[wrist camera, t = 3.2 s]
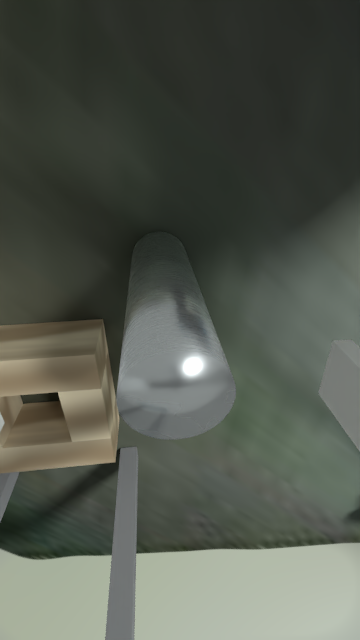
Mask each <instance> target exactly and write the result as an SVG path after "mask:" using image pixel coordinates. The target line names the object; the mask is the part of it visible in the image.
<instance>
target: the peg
mask: <svg viewBox="0 0 360 640" xmlns="http://www.w3.org/2000/svg"><path fill="white" fill-rule="evenodd" d="M235 396H236V387H235V382H234V379H233V376H232V374H231V371H230V368H229V366H228V363H227V360H226V358H225V355H224V352H223V350H222V347H221V344H220V342H219V339H218V336H217V334H216V331H215V328H214V326H213V323H212V320H211V318H210V315H209V312H208V310H207V307H206V304H205V302H204V299H203V296H202V294H201V291H200V288H199V286H198V283H197V280H196V277H195V275H194V272H193V269H192V267H191V264H190V261H189V259H188V256H187V253H186V251H185V248H184V246H183V244H182V243H181V241H180V240H179V239H178V238H176V237H175V236H174V235H172V234H170V233H167V232H152V233H149V234H147V235H145V236H143V237H142V238H141V239H140V240H139V241H138V242H137V243H136V245H135V247H134V249H133V253H132V261H131V270H130V279H129V288H128V297H127V306H126V315H125V324H124V333H123V342H122V351H121V360H120V369H119V378H118V387H117V396H116V403H117V408H118V411H119V413H120V415H121V417H122V418H123V420H124V421H125V422H126V423H127V424H128V425H129V426H130V427H131V428H133V429H134V430H136V431H137V432H139V433H141V434H144V435H146V436H149V437H153V438H158V439H169V440H173V439H183V438H189V437H193V436H196V435H199V434H201V433H204V432H206V431H208V430H209V429H211V428H213V427H214V426H216V425H217V424H218V423H220V422H221V421H222V420H223V419H224V418H225V417H226V415H227V414H228V413H229V411H230V410H231V408H232V406H233V403H234V401H235Z"/></svg>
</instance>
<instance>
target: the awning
mask: <svg viewBox="0 0 360 640" xmlns="http://www.w3.org/2000/svg"><path fill="white" fill-rule="evenodd" d="M18 475H19V472H10V473H0V522H1V519H2V517H3V514H4V512H5V509H6V506H7V504H8V501H9V498H10V496H11V493H12V490H13V488H14V485H15V483H16V480H17V477H18ZM137 485H138V452H137V447H127V448H120V461H119V473H118V486H117V498H116V511H115V524H114V536H113V549H112V561H111V574H110V587H109V600H108V612H107V625H106V637H105V640H134V622H135V579H136V532H137Z"/></svg>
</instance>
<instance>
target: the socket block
mask: <svg viewBox="0 0 360 640" xmlns="http://www.w3.org/2000/svg"><path fill="white" fill-rule="evenodd" d="M54 392H58V395H59V399H60V401H51V402H38V403H26V404H23V401H22V399H21V396H20V395H29V394H41V393H54ZM0 413H1V415H2V417H3V420H4V422H5V423H4V425H3V427H2V430H1V432H0V473H10V472H20V471H31V470H41V469H51V468H61V467H72V466H82V465H92V464H102V463H112V462H115V461H116V450H117V439H118V428H119V414H118V408H117V403H116V395H115V389H114V383H113V377H112V371H111V365H110V359H109V353H108V347H107V341H106V335H105V328H104V322H103V319H96V320H80V321H63V322H47V323H31V324H15V325H0Z"/></svg>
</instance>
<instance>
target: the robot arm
mask: <svg viewBox="0 0 360 640" xmlns="http://www.w3.org/2000/svg"><path fill="white" fill-rule="evenodd" d="M318 394H319V395H320V397H321V398H322V399H323V401H324V402H325V404H326V405H327V406H328V408H329V409H330V411H331V412H332V413H333V415H334V416H335V418H336V419H337V420H338V422H339V423H340V425H341V426H342V427H343V429H344V430H345V431H346V433H347V434H348V436H349V437H350V438H351V440H352V441H353V443H354V444H355V445H356V447H357V448H358V450H359V451H360V347H359V346H358V345H357V344H356V343H355V342H354V341H353V340H351V339H349V340H336V341H333V342H332V346H331V349H330V353H329V356H328V360H327V364H326V367H325V371H324V375H323V378H322V382H321V385H320V389H319V393H318ZM4 423H5V422H4V420H3V417H2V415H1V413H0V432H1V430H2V427H3V425H4Z"/></svg>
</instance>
